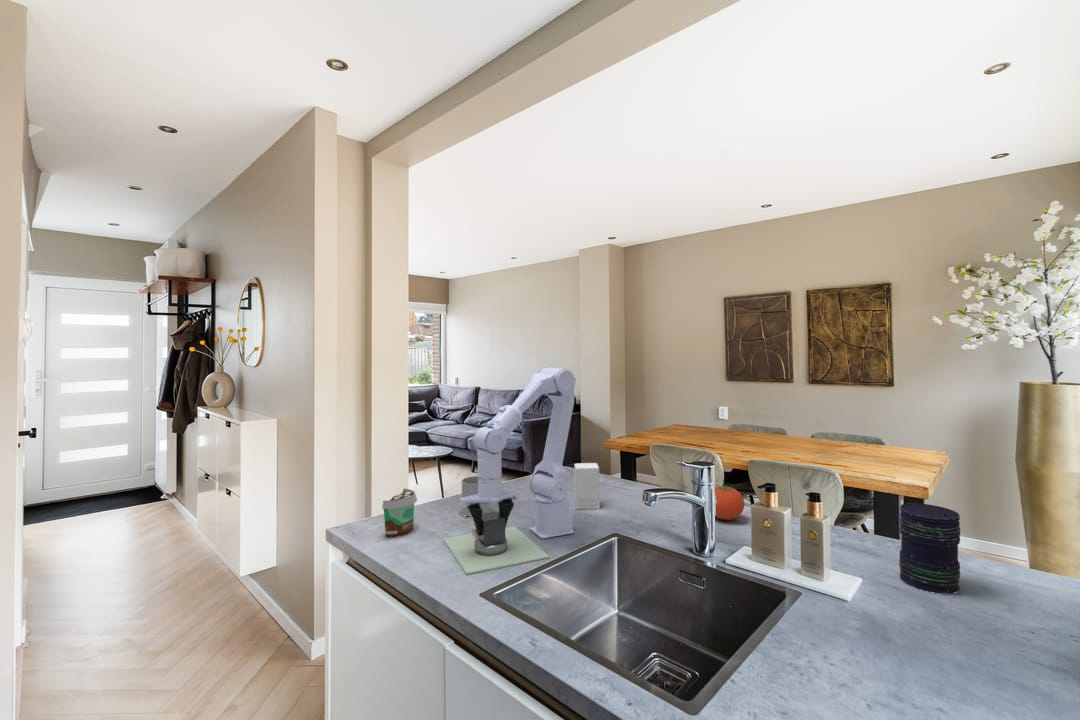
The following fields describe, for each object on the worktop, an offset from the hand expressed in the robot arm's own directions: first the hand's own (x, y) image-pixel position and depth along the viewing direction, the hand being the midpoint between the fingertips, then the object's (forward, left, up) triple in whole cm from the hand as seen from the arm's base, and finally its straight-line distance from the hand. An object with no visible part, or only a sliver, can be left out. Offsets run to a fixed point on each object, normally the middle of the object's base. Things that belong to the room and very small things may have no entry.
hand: (490, 532), depth 122 cm
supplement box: (-38, -20, -5) cm, 43 cm away
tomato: (-67, +8, -5) cm, 68 cm away
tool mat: (-1, -1, -5) cm, 5 cm away
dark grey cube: (0, 0, -2) cm, 2 cm away
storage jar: (-76, +55, -5) cm, 94 cm away
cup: (-5, -29, -5) cm, 30 cm away
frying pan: (0, -4, -4) cm, 6 cm away
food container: (+17, -23, -5) cm, 29 cm away
